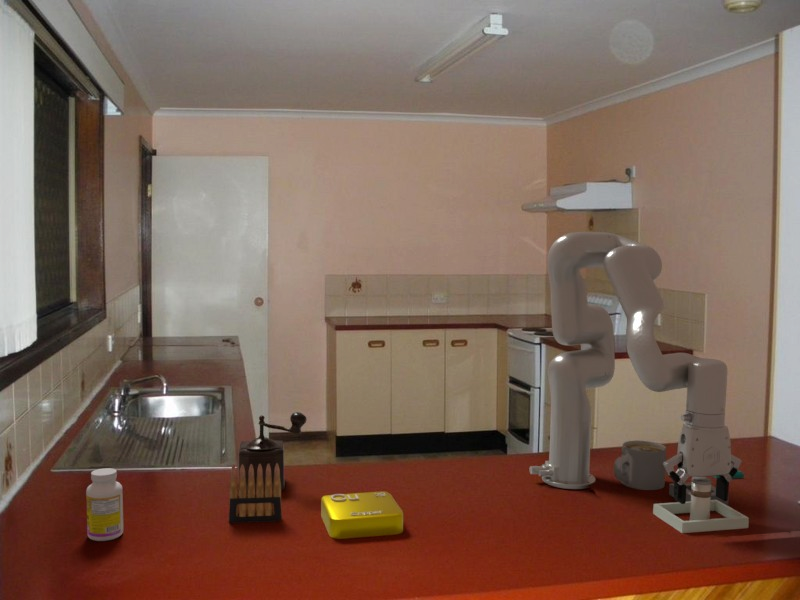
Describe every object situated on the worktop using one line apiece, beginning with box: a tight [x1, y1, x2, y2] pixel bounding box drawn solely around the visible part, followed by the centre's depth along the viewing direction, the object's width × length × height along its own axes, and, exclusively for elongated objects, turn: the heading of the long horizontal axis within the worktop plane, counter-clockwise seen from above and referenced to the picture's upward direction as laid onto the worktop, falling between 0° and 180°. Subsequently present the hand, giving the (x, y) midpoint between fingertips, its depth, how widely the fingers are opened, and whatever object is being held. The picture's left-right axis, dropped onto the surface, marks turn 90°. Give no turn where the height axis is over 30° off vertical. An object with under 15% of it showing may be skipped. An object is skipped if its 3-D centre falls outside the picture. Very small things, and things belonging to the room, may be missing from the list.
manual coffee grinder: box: [238, 411, 307, 493], centre depth 190 cm, size 16×11×18 cm
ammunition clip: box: [228, 463, 283, 524], centre depth 168 cm, size 11×2×12 cm, turn 98°
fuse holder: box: [668, 481, 730, 506], centre depth 182 cm, size 9×9×4 cm
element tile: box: [320, 490, 404, 540], centre depth 168 cm, size 15×15×5 cm
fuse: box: [689, 476, 713, 521], centre depth 169 cm, size 4×4×9 cm
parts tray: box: [652, 500, 750, 534], centre depth 170 cm, size 15×11×3 cm
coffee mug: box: [613, 439, 667, 491], centre depth 193 cm, size 13×10×10 cm
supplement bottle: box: [85, 467, 124, 542], centre depth 159 cm, size 7×7×13 cm
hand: (700, 500), depth 169 cm, fingers open, 9 cm apart
